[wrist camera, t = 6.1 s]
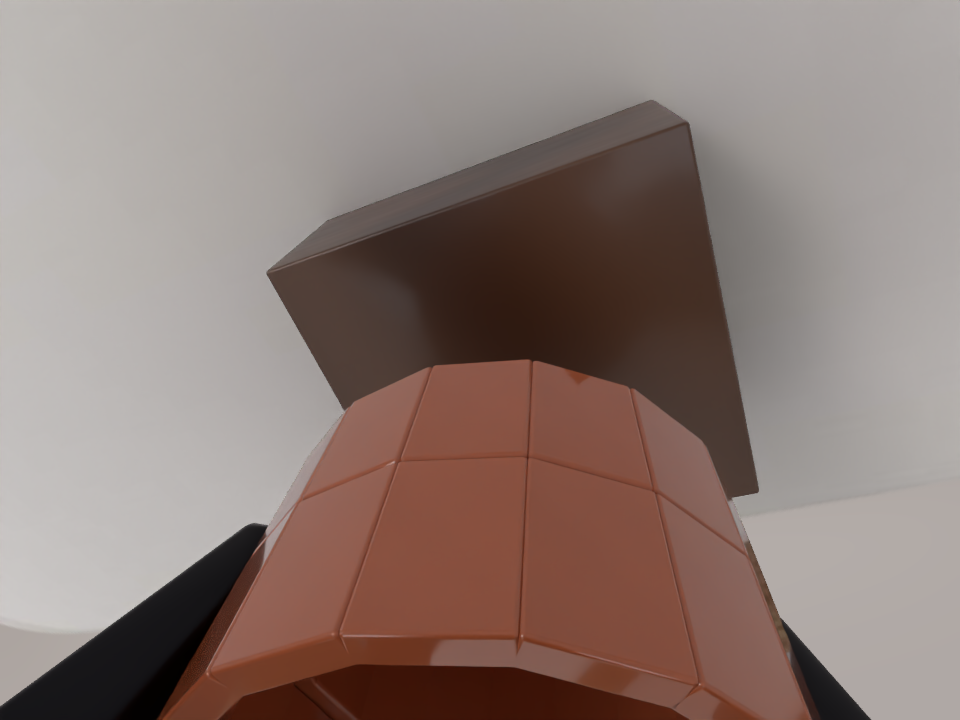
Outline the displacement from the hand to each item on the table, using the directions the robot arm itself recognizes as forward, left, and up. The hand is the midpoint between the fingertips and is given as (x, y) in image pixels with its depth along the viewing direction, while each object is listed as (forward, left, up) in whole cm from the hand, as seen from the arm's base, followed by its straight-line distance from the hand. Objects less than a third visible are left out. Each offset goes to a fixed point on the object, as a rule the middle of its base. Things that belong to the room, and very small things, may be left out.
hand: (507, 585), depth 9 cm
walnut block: (0, 0, -9) cm, 9 cm away
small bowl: (0, 0, -1) cm, 1 cm away
